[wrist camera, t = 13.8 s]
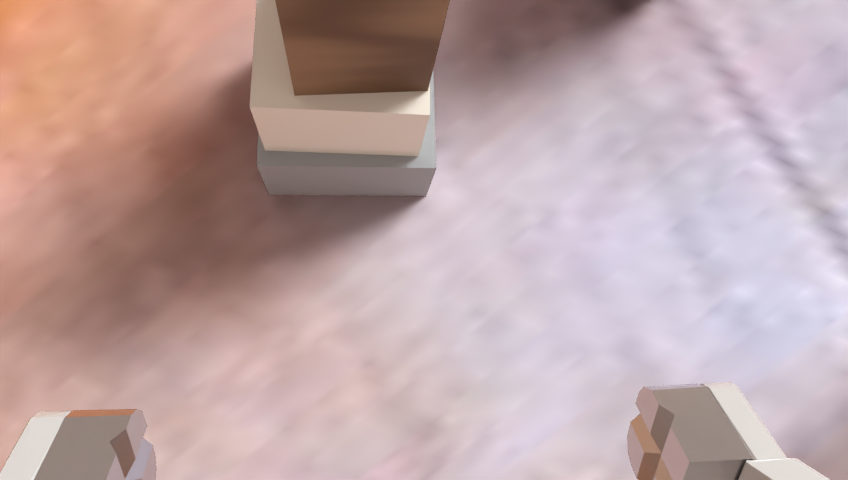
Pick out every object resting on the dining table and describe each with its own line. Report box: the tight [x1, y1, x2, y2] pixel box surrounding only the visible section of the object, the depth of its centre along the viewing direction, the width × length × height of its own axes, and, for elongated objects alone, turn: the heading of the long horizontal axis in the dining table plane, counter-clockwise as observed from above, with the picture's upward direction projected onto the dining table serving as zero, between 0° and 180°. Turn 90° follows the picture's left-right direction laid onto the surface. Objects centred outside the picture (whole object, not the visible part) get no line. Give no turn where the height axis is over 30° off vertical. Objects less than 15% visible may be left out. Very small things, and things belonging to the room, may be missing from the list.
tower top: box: [250, 0, 430, 156], centre depth 25 cm, size 6×6×4 cm
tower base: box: [257, 72, 436, 196], centre depth 28 cm, size 7×7×4 cm
